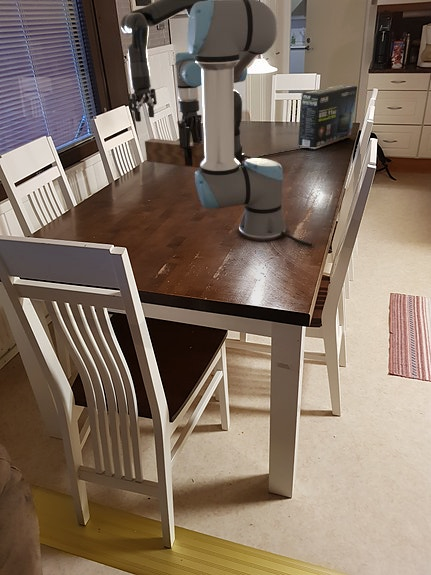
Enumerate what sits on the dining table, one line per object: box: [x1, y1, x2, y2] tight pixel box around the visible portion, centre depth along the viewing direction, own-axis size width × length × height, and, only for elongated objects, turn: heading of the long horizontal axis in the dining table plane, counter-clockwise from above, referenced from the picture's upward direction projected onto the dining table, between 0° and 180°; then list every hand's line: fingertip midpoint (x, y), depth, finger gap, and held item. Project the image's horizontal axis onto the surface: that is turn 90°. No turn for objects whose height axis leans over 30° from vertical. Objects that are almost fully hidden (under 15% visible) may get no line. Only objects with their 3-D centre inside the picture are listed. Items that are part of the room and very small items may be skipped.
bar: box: [144, 138, 205, 169], centre depth 181 cm, size 24×5×8 cm, turn 61°
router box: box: [297, 84, 358, 151], centre depth 238 cm, size 36×11×27 cm, turn 134°
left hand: (145, 119), depth 181 cm, fingers open, 8 cm apart
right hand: (192, 163), depth 179 cm, fingers closed on bar, 5 cm apart
